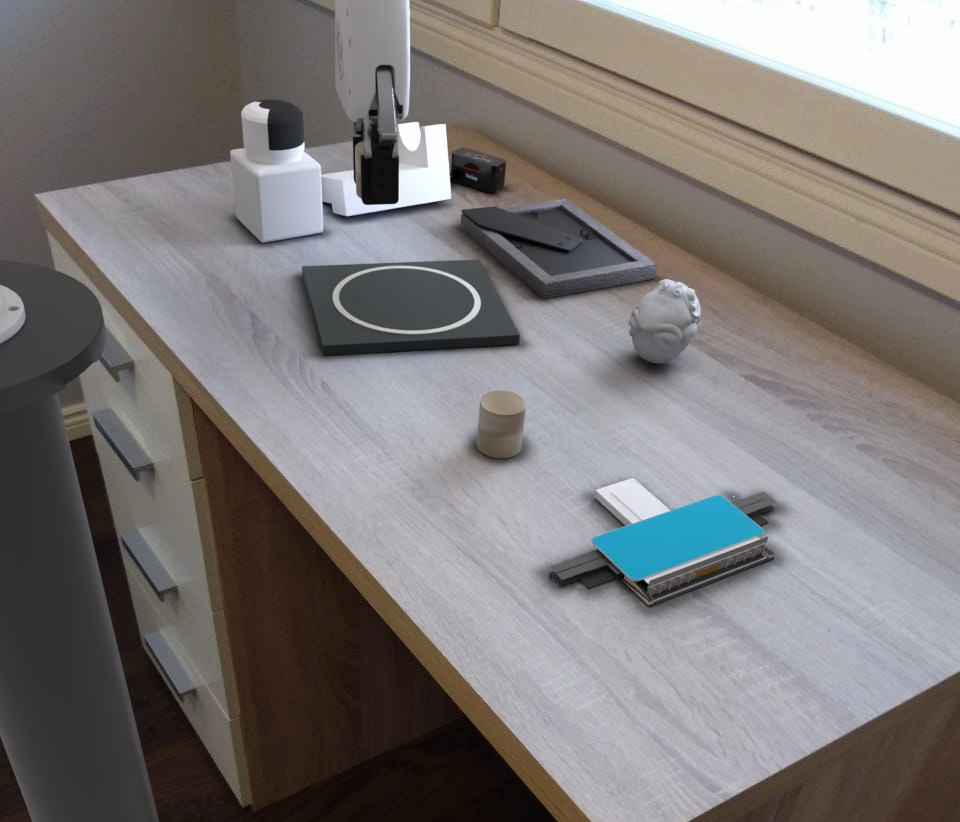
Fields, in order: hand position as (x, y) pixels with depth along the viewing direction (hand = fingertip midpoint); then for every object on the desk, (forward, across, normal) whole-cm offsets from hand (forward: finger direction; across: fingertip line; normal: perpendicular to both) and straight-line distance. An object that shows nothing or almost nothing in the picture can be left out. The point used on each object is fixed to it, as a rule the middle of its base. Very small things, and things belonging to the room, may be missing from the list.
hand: (375, 191), depth 93 cm
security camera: (+11, -19, -7) cm, 23 cm away
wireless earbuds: (+11, -29, +16) cm, 35 cm away
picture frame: (+11, -10, +21) cm, 26 cm away
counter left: (0, 0, 0) cm, 0 cm away
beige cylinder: (+11, +25, +6) cm, 28 cm away
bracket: (+11, -25, +5) cm, 28 cm away
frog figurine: (+11, +13, +24) cm, 29 cm away
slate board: (+11, +1, +3) cm, 11 cm away
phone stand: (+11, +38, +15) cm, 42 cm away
